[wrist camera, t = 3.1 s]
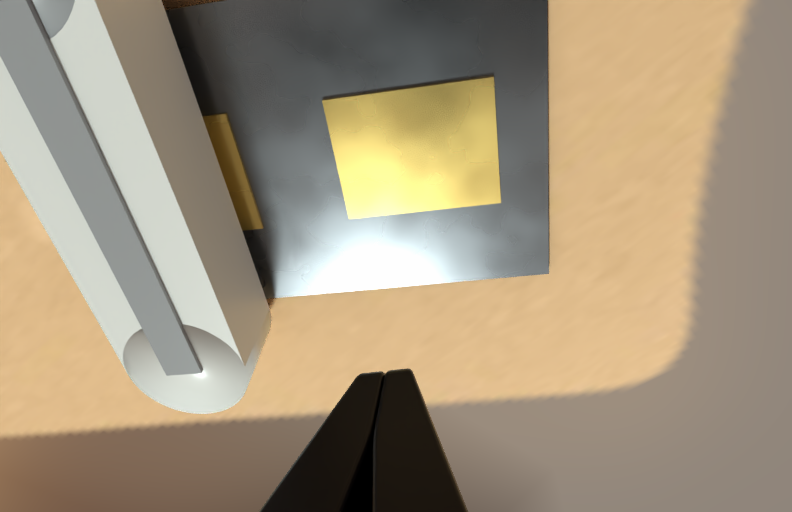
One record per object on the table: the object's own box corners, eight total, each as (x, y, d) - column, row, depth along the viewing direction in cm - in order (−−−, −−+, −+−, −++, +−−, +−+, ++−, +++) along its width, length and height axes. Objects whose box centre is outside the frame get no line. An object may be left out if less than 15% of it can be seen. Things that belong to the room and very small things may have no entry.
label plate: (544, -279, 12) (548, -286, 11) (547, 270, 19) (550, 278, 19) (-105, -135, 14) (-122, -136, 13) (127, 308, 21) (121, 316, 21)
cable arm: (99, -177, 12) (8, -200, 10) (283, 349, 21) (261, 413, 18) (-55, -143, 13) (-182, -155, 10) (185, 356, 21) (150, 420, 19)
